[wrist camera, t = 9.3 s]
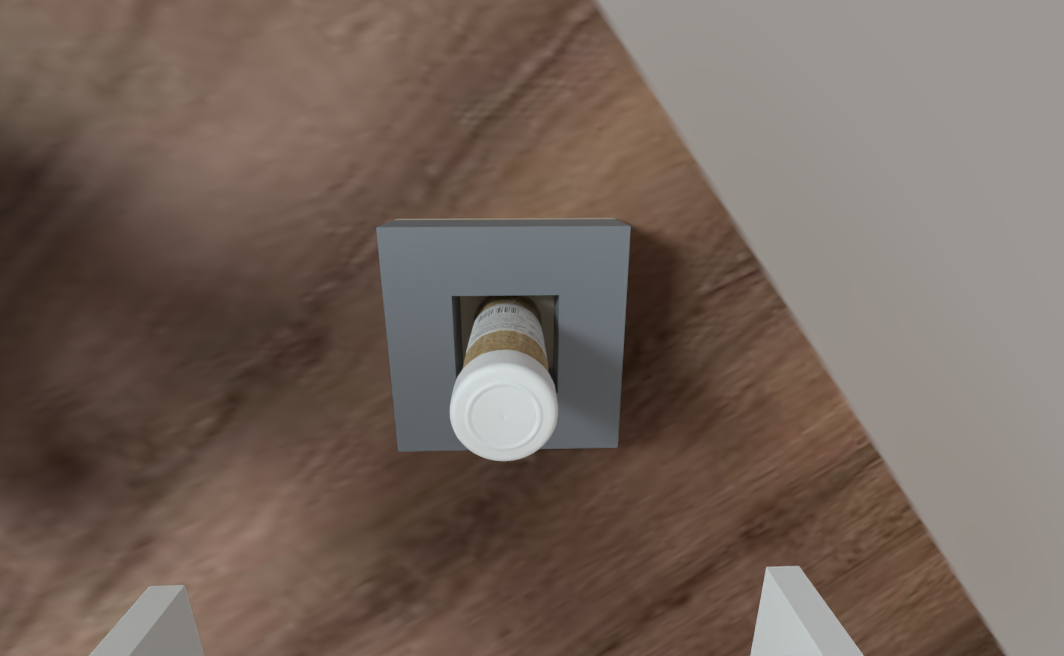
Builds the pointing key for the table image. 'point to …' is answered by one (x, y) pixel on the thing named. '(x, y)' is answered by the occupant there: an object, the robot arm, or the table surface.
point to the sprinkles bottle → (505, 383)
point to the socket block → (505, 270)
